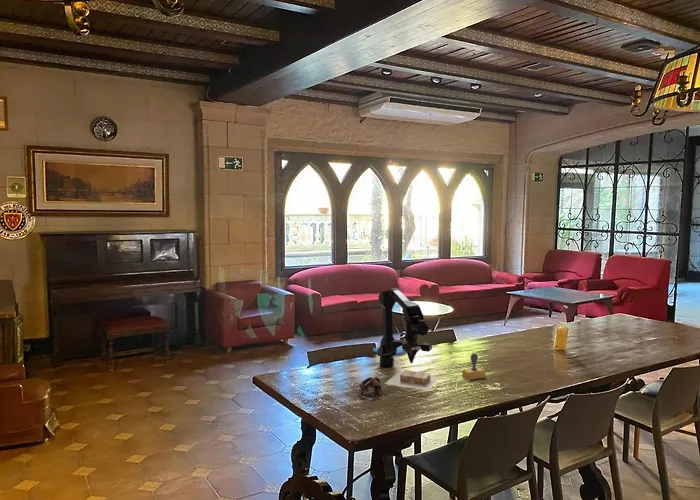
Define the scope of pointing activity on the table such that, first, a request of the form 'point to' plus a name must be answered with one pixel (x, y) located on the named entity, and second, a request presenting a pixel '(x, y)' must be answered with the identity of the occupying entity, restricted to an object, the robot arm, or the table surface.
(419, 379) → the oak tile
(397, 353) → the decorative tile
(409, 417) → the table surface
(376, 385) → the brown arched piece
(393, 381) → the grey rubber mat
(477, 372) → the rubber stamp
